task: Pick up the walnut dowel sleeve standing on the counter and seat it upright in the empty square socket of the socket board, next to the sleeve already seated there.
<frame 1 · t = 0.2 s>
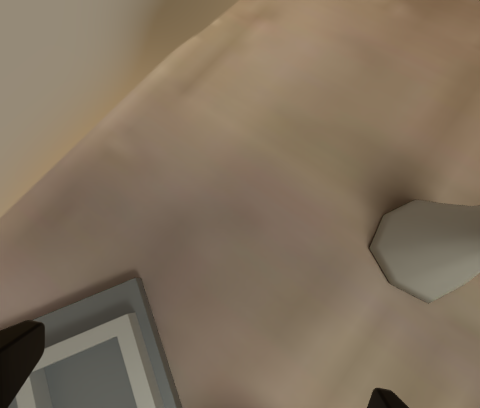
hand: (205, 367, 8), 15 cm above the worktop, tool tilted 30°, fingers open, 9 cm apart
flask: (418, 250, 24), on the worktop
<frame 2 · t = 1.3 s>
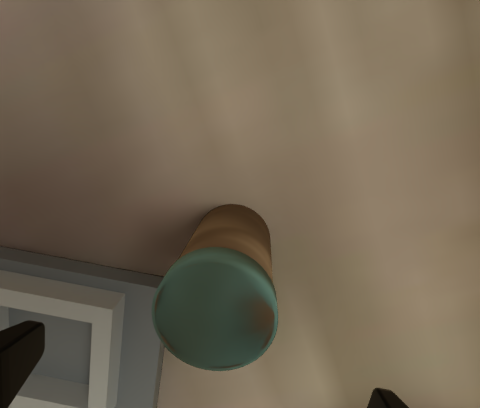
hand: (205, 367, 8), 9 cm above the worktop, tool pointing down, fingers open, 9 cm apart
sleeve: (233, 239, 17), on the worktop
socket board: (66, 396, 21), on the worktop
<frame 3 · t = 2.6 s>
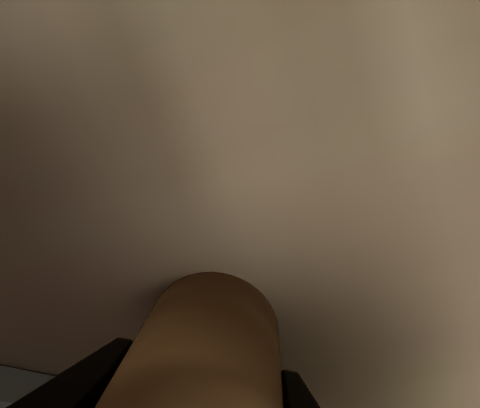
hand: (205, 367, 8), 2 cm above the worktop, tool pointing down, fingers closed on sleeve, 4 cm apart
sleeve: (214, 330, 10), on the worktop, touching gripper
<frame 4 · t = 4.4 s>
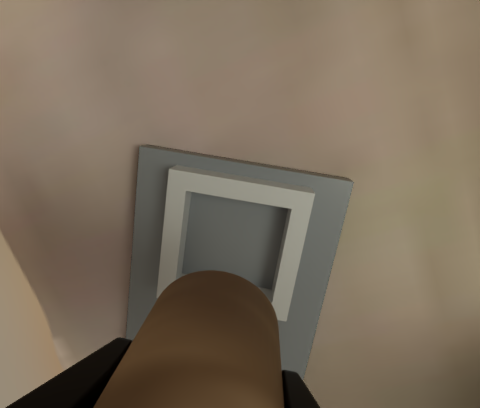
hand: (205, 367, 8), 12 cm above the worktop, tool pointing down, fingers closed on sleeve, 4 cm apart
sleeve: (214, 328, 10), point 10 cm above the worktop, touching gripper
socket board: (222, 308, 21), on the worktop
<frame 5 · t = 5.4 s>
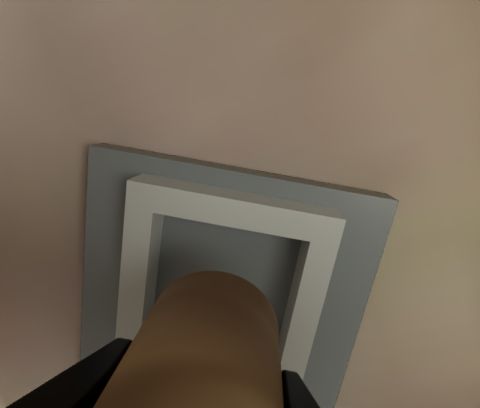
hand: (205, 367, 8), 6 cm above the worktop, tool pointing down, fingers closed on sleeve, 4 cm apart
sleeve: (214, 328, 10), point 5 cm above the worktop, touching gripper
socket board: (209, 363, 16), on the worktop
when the fingers open (4 cm above the worktop, at t = 6.2 s): sleeve stays where it is, resting on socket board.
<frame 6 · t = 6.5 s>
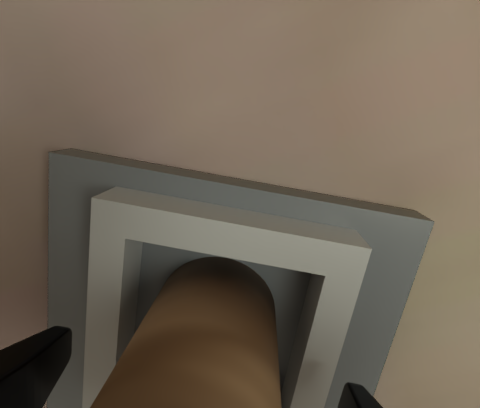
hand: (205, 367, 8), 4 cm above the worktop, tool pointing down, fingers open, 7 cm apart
sleeve: (216, 310, 11), point 1 cm above the worktop, touching socket board
socket board: (202, 407, 13), on the worktop
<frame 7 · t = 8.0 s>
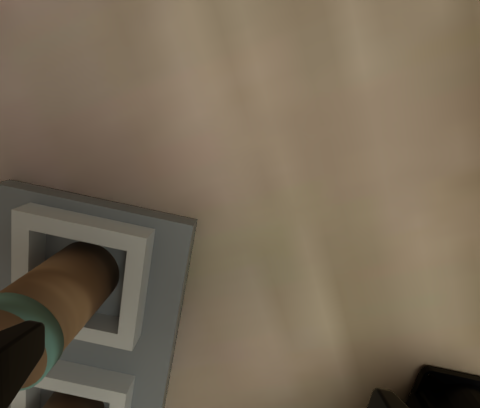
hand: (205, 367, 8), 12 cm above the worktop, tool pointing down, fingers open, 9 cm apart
seated sleeve: (77, 406, 23), point 1 cm above the worktop, touching socket board
sleeve: (88, 270, 20), point 1 cm above the worktop, touching socket board
socket board: (91, 332, 23), on the worktop
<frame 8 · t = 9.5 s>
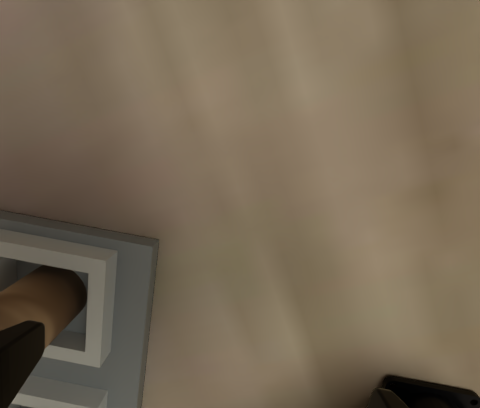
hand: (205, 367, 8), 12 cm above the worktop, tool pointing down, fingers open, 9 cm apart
sleeve: (57, 291, 21), point 1 cm above the worktop, touching socket board
socket board: (67, 349, 24), on the worktop
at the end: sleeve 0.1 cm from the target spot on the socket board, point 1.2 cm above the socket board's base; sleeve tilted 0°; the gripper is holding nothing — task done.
